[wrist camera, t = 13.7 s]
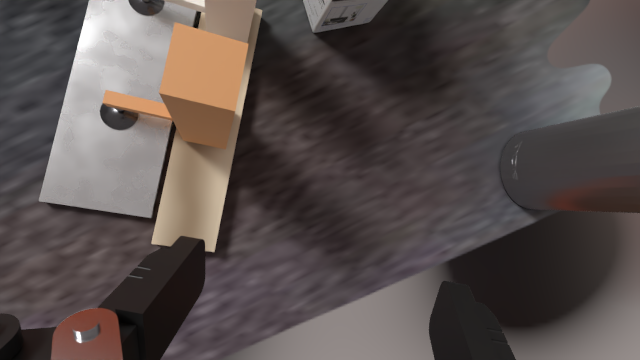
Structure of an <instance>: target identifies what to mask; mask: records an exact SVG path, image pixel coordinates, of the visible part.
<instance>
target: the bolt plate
mask: <svg viewBox="0 0 640 360" xmlns="http://www.w3.org/2000/svg"><path fill="white" fill-rule="evenodd" d="M196 16H197V11H196V10H193V9H190V8H186V7H183V6H180V5H177V4H173V3H170V2H167V1H164V0H150V1H148V2H144V1H142V0H89V4H88V8H87V12H86V16H85V20H84V23H83V27H82V31H81V35H80V39H79V43H78V47H77V51H76V55H75V59H74V63H73V67H72V71H71V75H70V79H69V83H68V87H67V91H66V95H65V99H64V103H63V107H62V111H61V115H60V119H59V123H58V127H57V131H56V135H55V139H54V143H53V147H52V150H51V154H50V158H49V162H48V166H47V170H46V174H45V178H44V182H43V186H42V190H41V194H40V198H39V201H42V202H48V203H55V204H62V205H68V206H75V207H81V208H88V209H95V210H101V211H108V212H114V213H121V214H128V215H134V216H141V217H147V218H152V217H153V213H154V208H155V203H156V199H157V194H158V190H159V185H160V181H161V176H162V171H163V167H164V162H165V158H166V153H167V148H168V144H169V139H170V135H171V130H172V126H173V121H171V120H167V119H162V118H158V117H154V116H149V115H145V114H140V113H136V112H131V111H127V110H123V111H117V110H115V109H114V108H113V107H109V106H106V105H105V104H103V99H104V94H105V90H109V91H113V92H117V93H122V94H126V95H130V96H134V97H139V98H143V99H147V100H152V101H156V102H160V103H164V102H163V100H162V98H161V96H160V94H159V90H160V86H161V81H162V77H163V73H164V68H165V64H166V59H167V55H168V50H169V46H170V41H171V37H172V32H173V28H174V24H175V22H176V23H180V24H183V25H186V26H190V27H193V28H194V25H195V20H196Z"/></svg>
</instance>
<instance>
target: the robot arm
mask: <svg viewBox="0 0 640 360" xmlns="http://www.w3.org/2000/svg"><path fill="white" fill-rule="evenodd" d="M500 172H501V179H502V182H503V185H504V188H505V189H506V191H507V193H508V195H509V196H510V197H511V198H512V200H513V201H514V202H516V203H517V204H518V205H520V206H522V207H524V208H527V209H532V210H562V211H592V212H593V211H594V212H627V213H640V106H638V107H633V108H629V109H624V110H620V111H615V112H611V113H606V114H601V115H597V116H592V117H588V118H583V119H579V120H574V121H569V122H565V123H560V124H556V125H551V126H546V127H542V128H537V129H533V130H529V131H524V132H520V133H519V134H517V135H515V136H514V137H513V138H512V139H511V140H510V141H509V142H508V143H507V145H506V146H505V149H504V151H503V153H502V158H501V165H500ZM204 282H205V241H204V240H203V239H198V238H192V237H187V236H180V237H179V238H178V239H177V240H176V241H175V242H174V243H173V244H172V246H171V247H170V248H169V249H167V248H161V249H159V250H157V251H155V252H153V253H151V254H149V255H148V256H147V257H146V258H145V259H144V260H143V261H142V262H141V263H140V264H139V265H138V267H137V268H135V269H134V270H133V271H132V272H131V273H130V275H129V277H128V276H127V277H126V279H125V280H124V281H123V282H122V283H121V284H120V285H119V286H118V287H117V288H116V289H115V290H114V291H113V292H112V293H111V294H110V295H109V296H108V297H107V298H106V299H105V300H104V301H103V302H102V304H101V305H100V306H99V307H98V308H92V309H86V310H83V311H80V312H77V313H75V314H73V315H71V316H69V317H68V318H66V319H65V320H64V321H62V322H61V323H60V324H59V325H58V326H57V327H51V328H39V329H26V330H21V327H20V323H19V320H18V319H17V318H16V317H15V316H13V315H10V314H0V360H160V359H161V357H162V356H163V354H164V353H165V351H166V349H167V348H168V346H169V344H170V343H171V341H172V340H173V338H174V336H175V335H176V333H177V332H178V330H179V328H180V327H181V325H182V323H183V322H184V320H185V319H186V317H187V315H188V314H189V312H190V310H191V309H192V307H193V306H194V304H195V302H196V301H197V299H198V298H199V296H200V294H201V292H202V289H203V286H204ZM429 335H430V340H431V345H432V349H433V354H434V358H435V360H516V359H515V357H514V355H513V353H512V350H511V348H510V346H509V345H508V344H507V340H506V338H505V336H504V333H502V329H501V327H500V325H499V323H498V321H497V318H496V317H495V315H494V314H493V313H492V312H491V311H490V310H489V309H488V308H487V307H486V306H485V305H484V304H482V303H477V302H475V299H474V297H473V295H472V292H471V290H470V288H469V286H468V285H465V284H459V283H453V282H447V281H443V282H442V284H441V286H440V289H439V292H438V295H437V298H436V301H435V304H434V308H433V311H432V314H431V317H430V323H429Z"/></svg>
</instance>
